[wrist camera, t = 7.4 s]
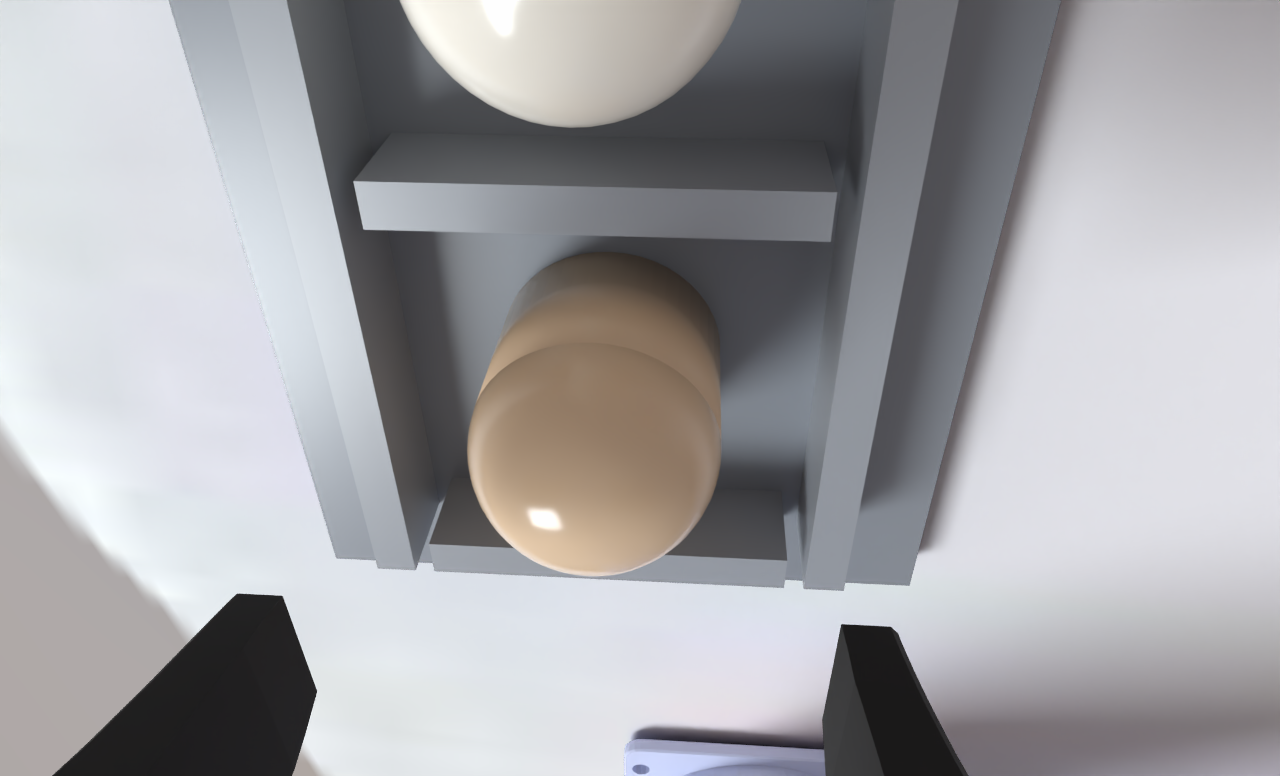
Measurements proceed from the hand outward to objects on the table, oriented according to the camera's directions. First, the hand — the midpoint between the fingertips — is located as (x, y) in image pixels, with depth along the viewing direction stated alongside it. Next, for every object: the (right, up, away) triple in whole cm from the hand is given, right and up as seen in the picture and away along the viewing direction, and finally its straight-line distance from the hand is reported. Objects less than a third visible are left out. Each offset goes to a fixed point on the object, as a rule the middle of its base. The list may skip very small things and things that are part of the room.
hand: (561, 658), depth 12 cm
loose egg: (0, +4, +6) cm, 7 cm away
